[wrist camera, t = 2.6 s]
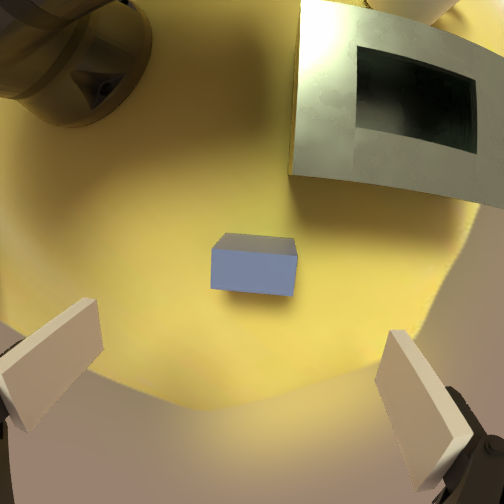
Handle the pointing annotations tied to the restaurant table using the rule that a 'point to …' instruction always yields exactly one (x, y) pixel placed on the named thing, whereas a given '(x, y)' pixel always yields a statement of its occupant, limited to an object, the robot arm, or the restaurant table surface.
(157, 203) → the restaurant table surface
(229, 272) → the blue block
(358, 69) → the coin box
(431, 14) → the mug
